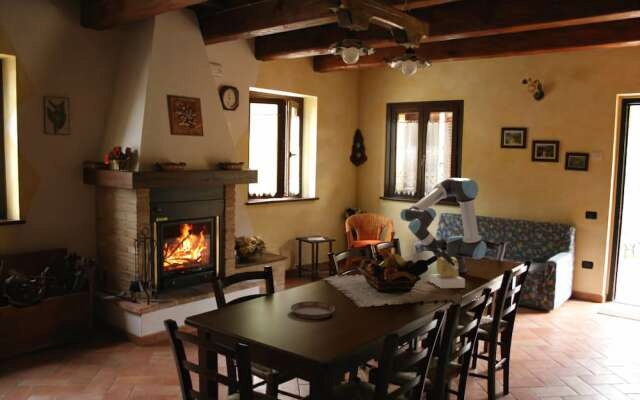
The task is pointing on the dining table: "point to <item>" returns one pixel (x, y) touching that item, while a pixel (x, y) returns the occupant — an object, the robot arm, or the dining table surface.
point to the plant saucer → (312, 309)
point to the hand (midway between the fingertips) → (452, 266)
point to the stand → (447, 281)
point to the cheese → (446, 267)
